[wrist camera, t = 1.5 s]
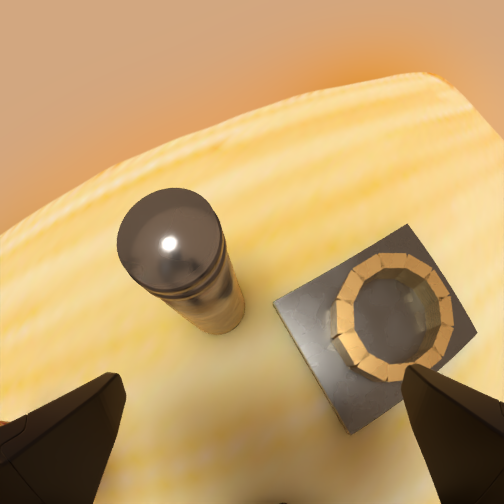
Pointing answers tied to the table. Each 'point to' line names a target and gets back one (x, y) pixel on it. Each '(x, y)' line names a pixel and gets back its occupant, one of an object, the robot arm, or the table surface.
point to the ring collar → (375, 325)
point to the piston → (182, 258)
